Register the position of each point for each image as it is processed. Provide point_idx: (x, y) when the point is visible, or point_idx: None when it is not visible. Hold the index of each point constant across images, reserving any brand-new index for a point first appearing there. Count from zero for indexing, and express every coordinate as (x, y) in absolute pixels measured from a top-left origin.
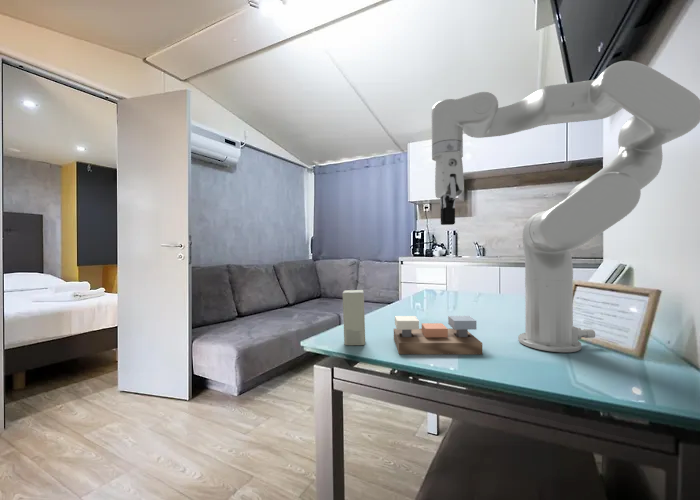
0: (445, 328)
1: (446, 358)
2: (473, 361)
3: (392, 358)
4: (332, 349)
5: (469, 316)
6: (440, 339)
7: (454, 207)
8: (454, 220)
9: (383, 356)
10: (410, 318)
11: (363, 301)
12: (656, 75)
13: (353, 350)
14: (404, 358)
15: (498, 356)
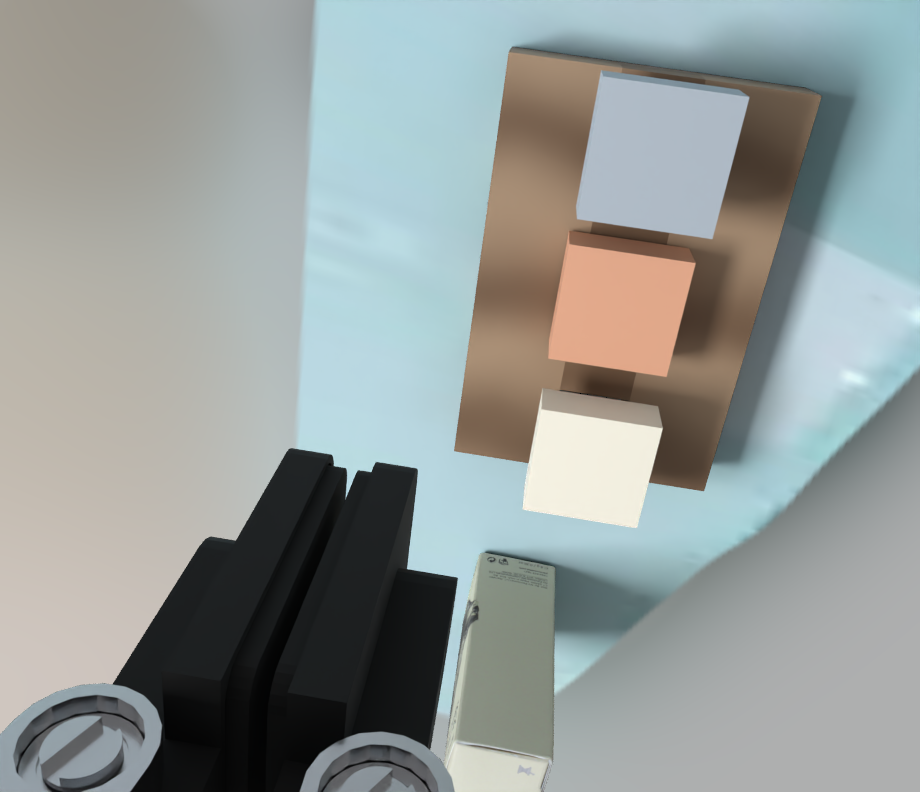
0: (689, 273)
1: (802, 289)
2: (878, 183)
3: (737, 499)
4: (577, 673)
5: (621, 82)
6: (700, 292)
7: (431, 758)
8: (404, 507)
9: (704, 524)
10: (595, 451)
11: (534, 712)
12: None
13: (605, 610)
14: (750, 456)
15: (856, 12)
